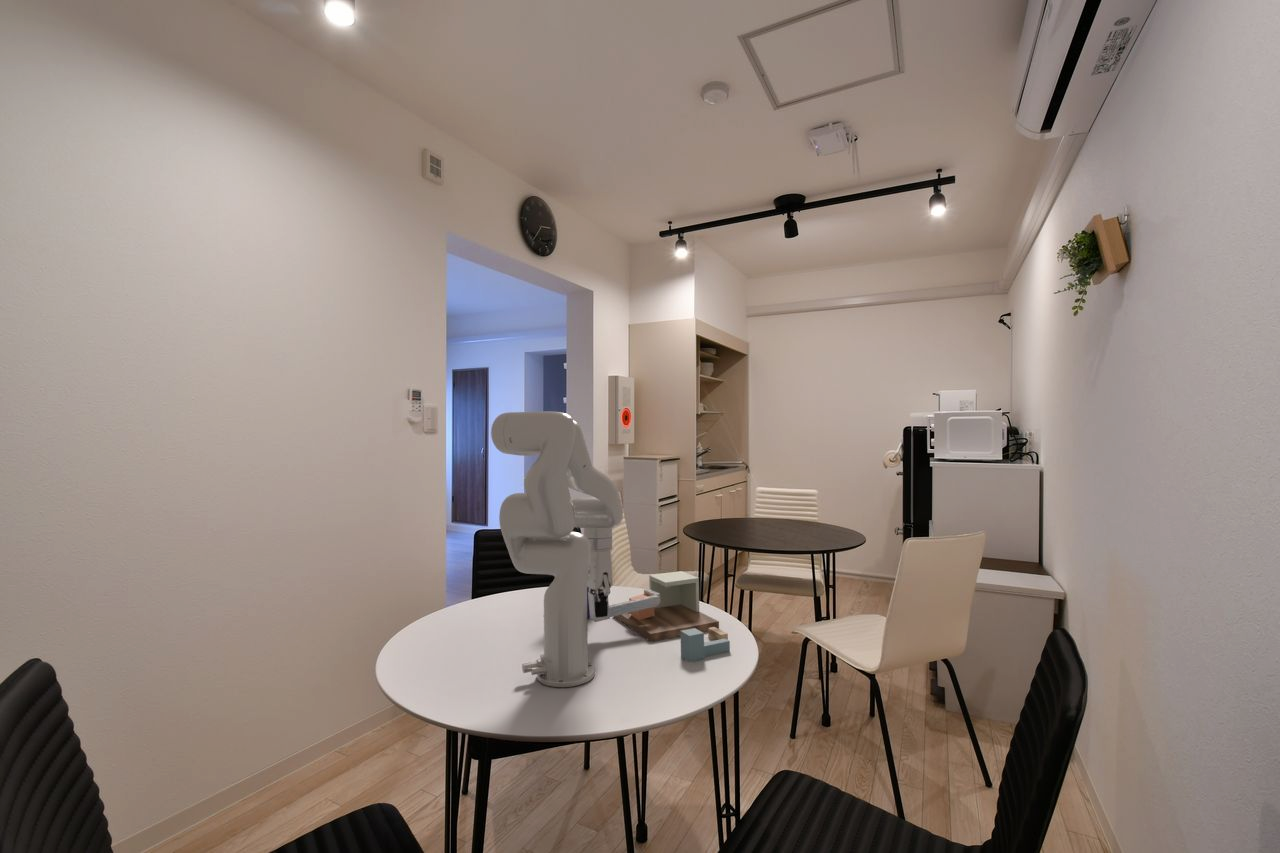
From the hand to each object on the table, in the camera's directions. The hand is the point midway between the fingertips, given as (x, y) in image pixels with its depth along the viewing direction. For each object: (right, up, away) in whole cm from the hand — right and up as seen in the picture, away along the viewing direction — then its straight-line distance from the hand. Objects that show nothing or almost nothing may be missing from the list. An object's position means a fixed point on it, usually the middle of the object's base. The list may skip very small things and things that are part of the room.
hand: (598, 613), depth 146 cm
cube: (+12, -4, +11) cm, 17 cm away
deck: (+18, -6, +12) cm, 23 cm away
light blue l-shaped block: (+27, -6, -12) cm, 30 cm away
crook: (+7, -1, +7) cm, 9 cm away
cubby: (+21, -5, +17) cm, 27 cm away
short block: (+31, -6, -2) cm, 32 cm away
